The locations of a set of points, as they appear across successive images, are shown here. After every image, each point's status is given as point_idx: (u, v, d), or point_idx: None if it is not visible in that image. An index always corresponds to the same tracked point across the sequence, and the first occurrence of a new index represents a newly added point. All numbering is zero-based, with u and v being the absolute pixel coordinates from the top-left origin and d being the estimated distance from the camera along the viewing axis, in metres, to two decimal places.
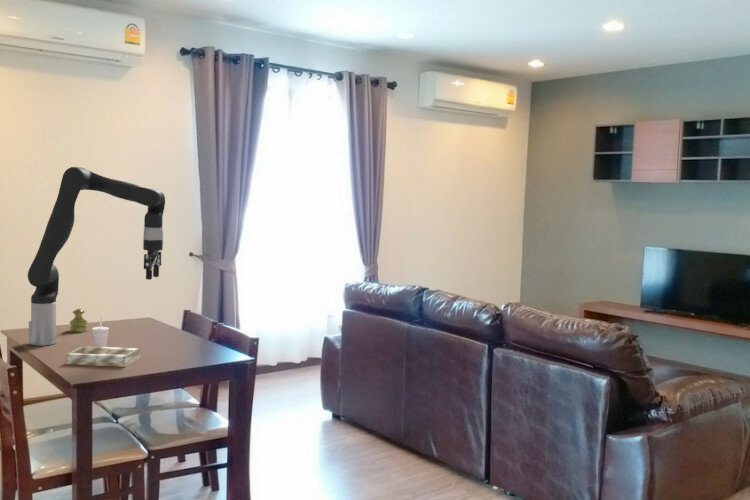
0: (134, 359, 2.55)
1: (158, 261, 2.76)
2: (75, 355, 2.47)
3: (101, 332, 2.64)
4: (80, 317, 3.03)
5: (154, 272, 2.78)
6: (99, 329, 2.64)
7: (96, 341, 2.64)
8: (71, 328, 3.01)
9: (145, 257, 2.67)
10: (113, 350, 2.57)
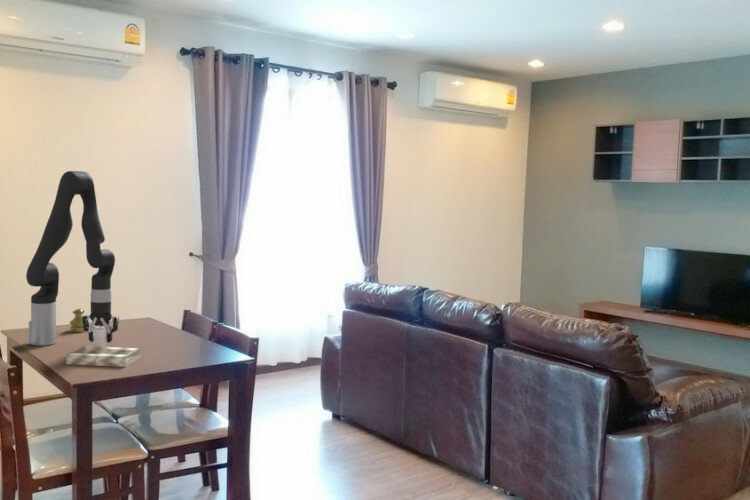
0: (134, 359, 2.55)
1: None
2: (75, 355, 2.47)
3: (101, 332, 2.64)
4: (80, 317, 3.03)
5: (92, 337, 2.66)
6: (99, 329, 2.64)
7: (96, 341, 2.64)
8: (71, 328, 3.01)
9: (117, 320, 2.65)
10: (113, 350, 2.57)
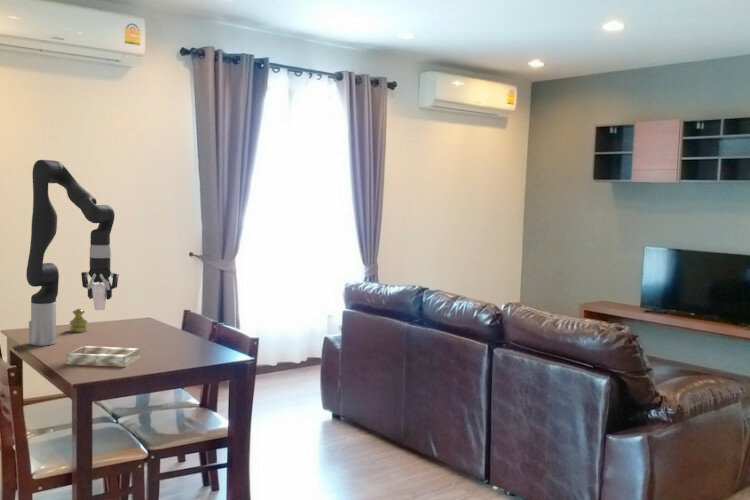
0: (134, 359, 2.55)
1: None
2: (75, 355, 2.47)
3: (100, 288, 2.60)
4: (80, 317, 3.03)
5: (91, 294, 2.62)
6: (98, 285, 2.61)
7: (95, 298, 2.61)
8: (71, 328, 3.01)
9: (116, 277, 2.62)
10: (113, 350, 2.57)
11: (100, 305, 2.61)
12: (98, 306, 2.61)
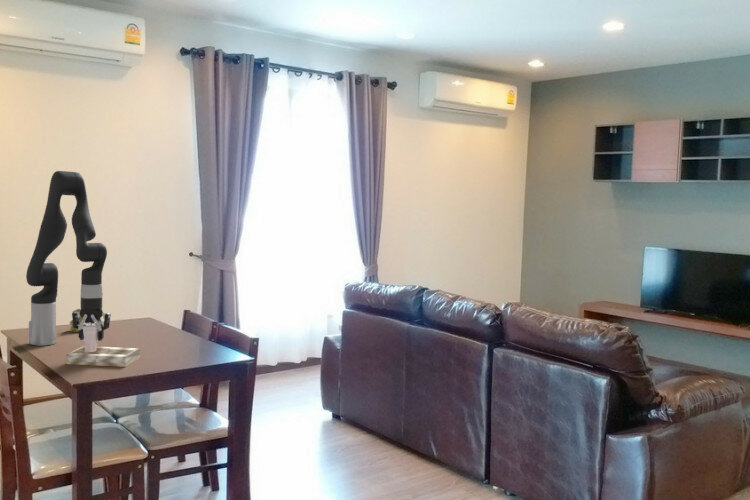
0: (134, 359, 2.55)
1: None
2: (75, 355, 2.47)
3: (91, 330, 2.51)
4: (80, 317, 3.03)
5: (82, 335, 2.53)
6: (89, 326, 2.51)
7: (86, 339, 2.51)
8: (71, 328, 3.01)
9: (108, 317, 2.52)
10: (113, 350, 2.57)
11: (91, 346, 2.52)
12: (90, 347, 2.52)
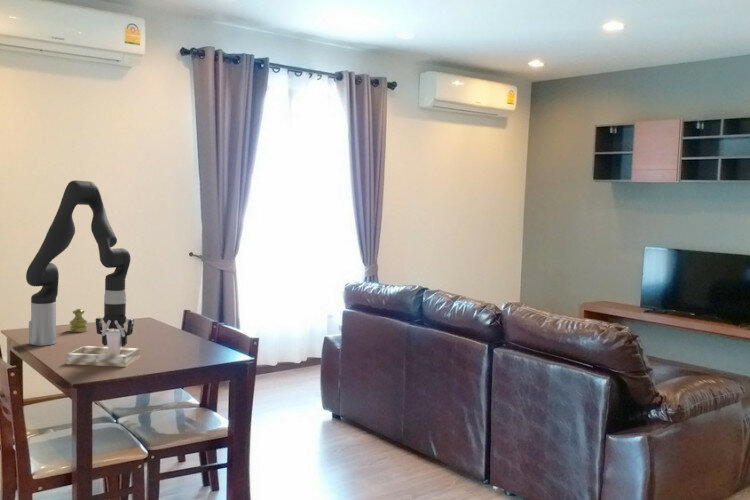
0: (134, 359, 2.55)
1: None
2: (75, 355, 2.47)
3: (115, 335, 2.50)
4: (80, 317, 3.03)
5: (105, 340, 2.53)
6: (113, 332, 2.51)
7: (110, 345, 2.51)
8: (71, 328, 3.01)
9: (131, 323, 2.52)
10: None
11: (114, 352, 2.52)
12: (113, 353, 2.52)
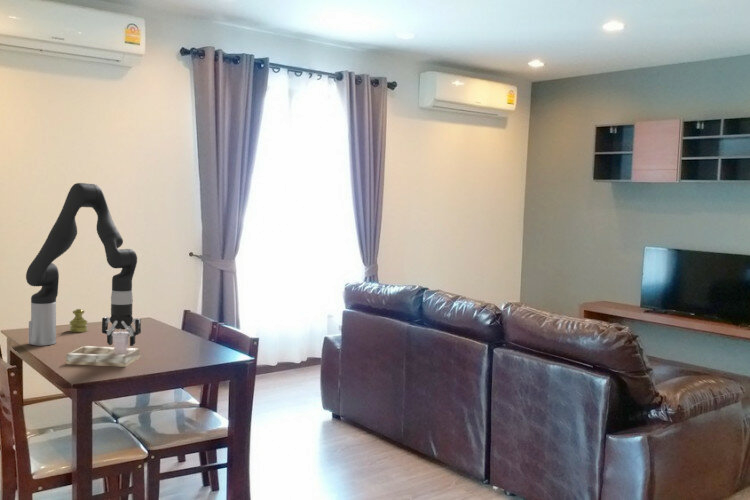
0: (134, 359, 2.55)
1: None
2: (75, 355, 2.47)
3: (121, 337, 2.51)
4: (80, 317, 3.03)
5: (110, 340, 2.53)
6: (119, 334, 2.51)
7: (116, 347, 2.51)
8: (71, 328, 3.01)
9: (139, 322, 2.52)
10: (113, 350, 2.57)
11: None
12: None
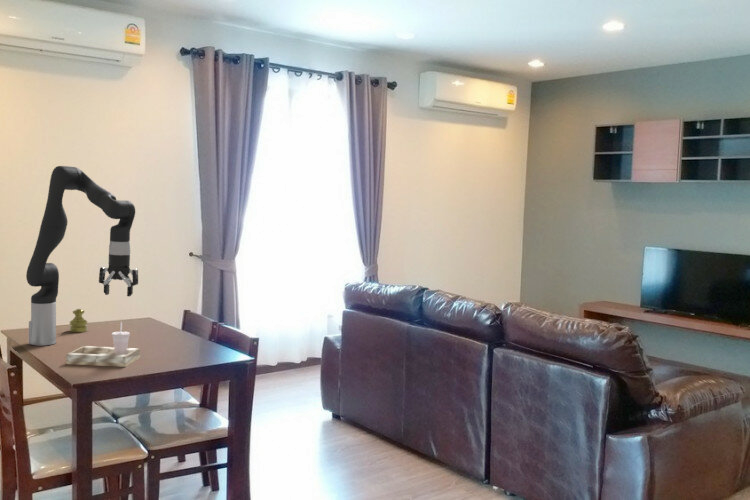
0: (134, 359, 2.55)
1: None
2: (75, 355, 2.47)
3: (121, 337, 2.51)
4: (80, 317, 3.03)
5: (107, 290, 2.56)
6: (119, 334, 2.51)
7: (116, 347, 2.51)
8: (71, 328, 3.01)
9: (136, 273, 2.55)
10: (113, 350, 2.57)
11: None
12: None
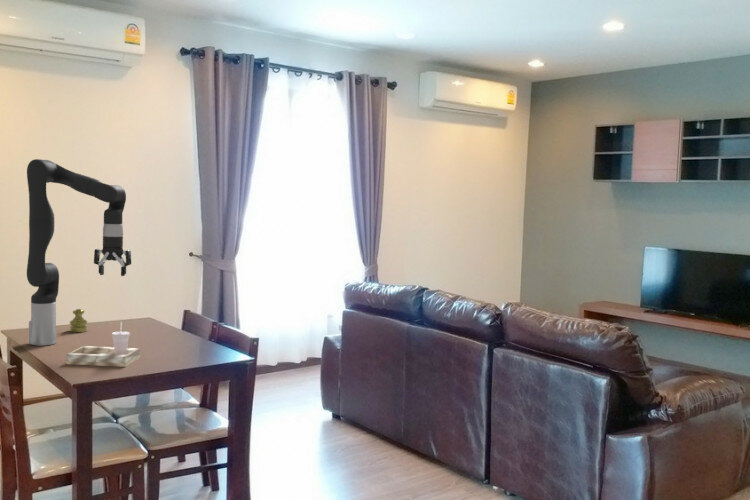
0: (134, 359, 2.55)
1: None
2: (75, 355, 2.47)
3: (121, 337, 2.51)
4: (80, 317, 3.03)
5: (102, 270, 2.70)
6: (119, 334, 2.51)
7: (116, 347, 2.51)
8: (71, 328, 3.01)
9: (129, 253, 2.69)
10: (113, 350, 2.57)
11: None
12: None
